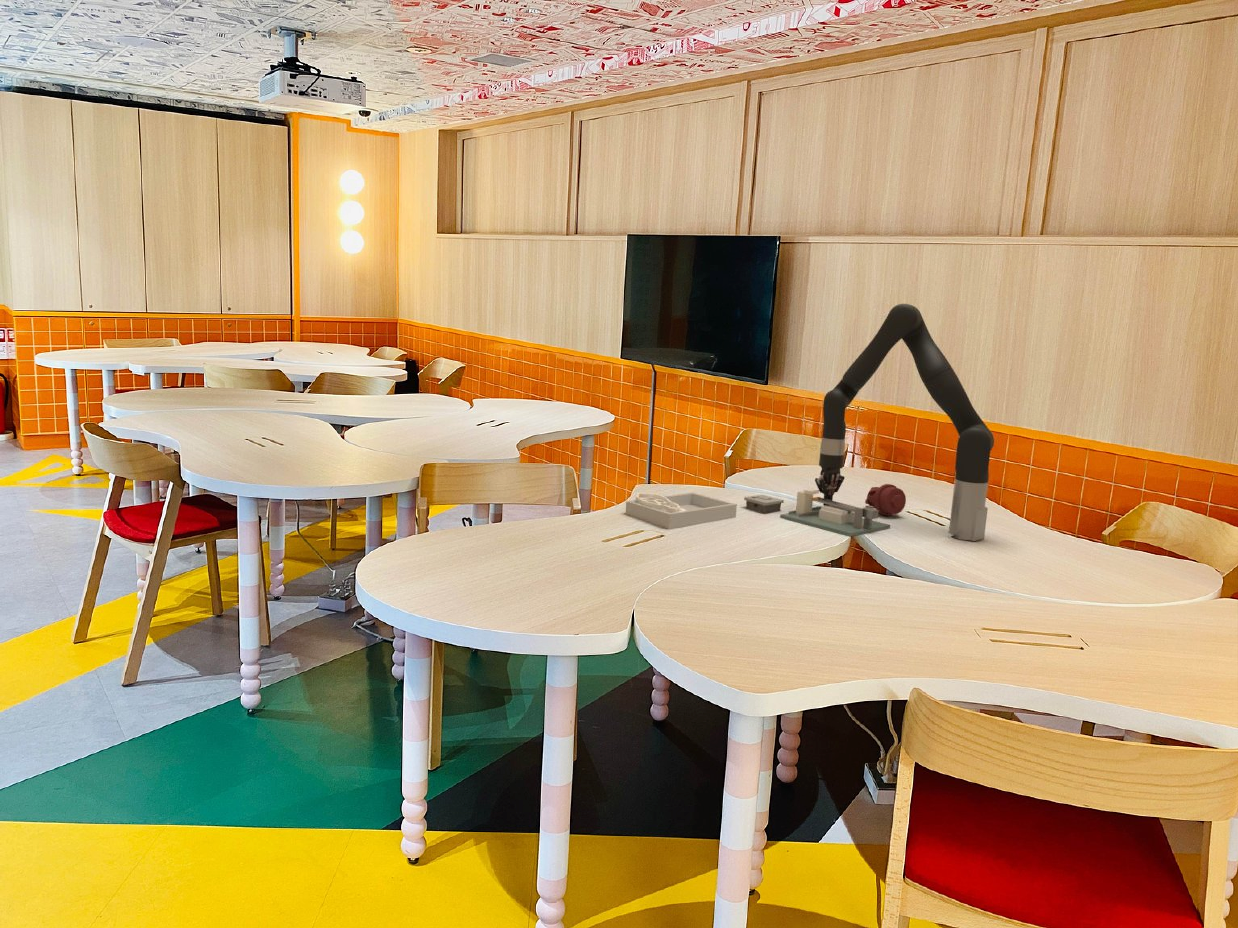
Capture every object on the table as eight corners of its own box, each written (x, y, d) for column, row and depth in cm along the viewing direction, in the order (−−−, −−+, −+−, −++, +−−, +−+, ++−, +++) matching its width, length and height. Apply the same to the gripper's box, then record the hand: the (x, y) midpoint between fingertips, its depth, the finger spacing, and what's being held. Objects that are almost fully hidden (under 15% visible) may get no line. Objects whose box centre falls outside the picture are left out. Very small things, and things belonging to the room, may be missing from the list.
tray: (735, 518, 285) (736, 504, 284) (669, 529, 266) (670, 514, 266) (691, 505, 299) (692, 492, 298) (625, 515, 280) (626, 501, 280)
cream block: (816, 515, 289) (818, 490, 288) (808, 516, 287) (810, 491, 285) (803, 512, 293) (805, 487, 292) (795, 513, 291) (797, 488, 289)
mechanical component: (859, 512, 304) (860, 482, 303) (883, 511, 308) (884, 481, 307) (885, 518, 293) (886, 486, 292) (909, 516, 297) (911, 485, 296)
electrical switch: (742, 497, 297) (761, 489, 302) (743, 512, 298) (762, 504, 304) (765, 503, 290) (784, 495, 295) (765, 518, 291) (785, 510, 297)
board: (890, 528, 282) (892, 505, 281) (850, 536, 269) (852, 512, 268) (820, 510, 301) (822, 489, 300) (780, 517, 288) (781, 495, 287)
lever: (878, 518, 275) (879, 510, 275) (871, 519, 273) (872, 511, 272) (818, 501, 291) (818, 494, 291) (811, 502, 289) (812, 495, 289)
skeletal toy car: (690, 532, 272) (692, 507, 270) (655, 534, 268) (656, 509, 266) (663, 514, 290) (664, 491, 289) (630, 516, 286) (631, 493, 285)
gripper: (829, 455, 288) (824, 510, 291) (854, 452, 296) (849, 506, 299) (809, 452, 293) (805, 506, 296) (834, 449, 302) (830, 501, 305)
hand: (827, 506), depth 298 cm, fingers closed
